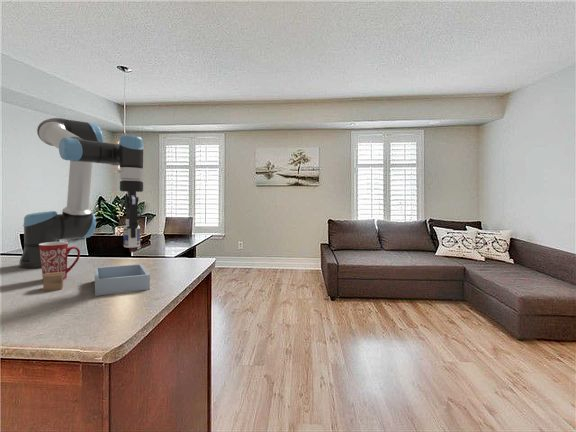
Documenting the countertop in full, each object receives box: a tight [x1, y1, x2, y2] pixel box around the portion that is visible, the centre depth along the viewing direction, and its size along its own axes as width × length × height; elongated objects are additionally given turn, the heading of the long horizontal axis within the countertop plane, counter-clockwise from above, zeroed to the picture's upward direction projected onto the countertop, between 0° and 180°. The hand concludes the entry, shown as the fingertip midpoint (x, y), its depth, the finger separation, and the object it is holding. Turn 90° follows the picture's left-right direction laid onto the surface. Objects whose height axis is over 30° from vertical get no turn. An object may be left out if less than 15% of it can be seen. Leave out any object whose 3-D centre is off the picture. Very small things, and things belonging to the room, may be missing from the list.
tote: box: [94, 263, 151, 296], centre depth 118 cm, size 20×16×5 cm
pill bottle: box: [122, 219, 141, 248], centre depth 118 cm, size 5×5×10 cm
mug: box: [39, 241, 81, 281], centre depth 124 cm, size 13×9×14 cm
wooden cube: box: [42, 272, 64, 292], centre depth 112 cm, size 5×5×5 cm
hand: (131, 245), depth 119 cm, fingers closed on pill bottle, 5 cm apart
